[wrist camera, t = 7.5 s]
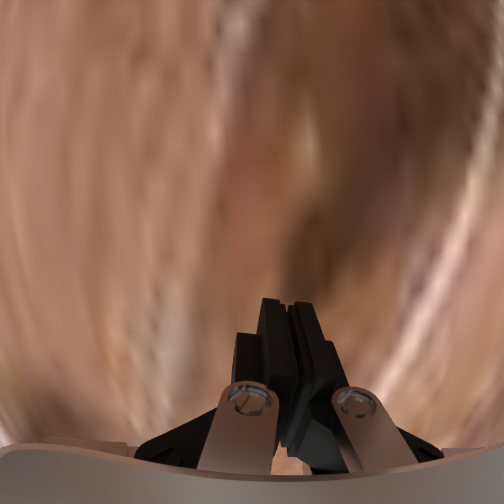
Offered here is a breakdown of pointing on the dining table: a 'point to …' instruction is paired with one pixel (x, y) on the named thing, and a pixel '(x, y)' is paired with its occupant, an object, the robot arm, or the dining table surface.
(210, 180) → the dining table surface
